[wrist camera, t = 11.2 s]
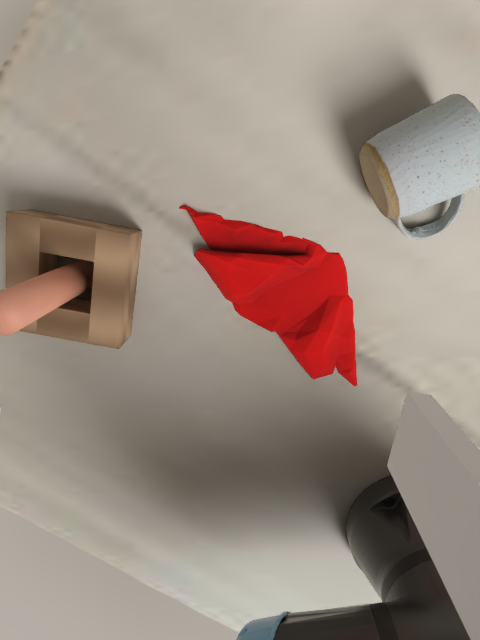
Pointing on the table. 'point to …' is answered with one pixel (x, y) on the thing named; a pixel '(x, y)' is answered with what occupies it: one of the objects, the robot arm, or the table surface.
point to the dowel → (42, 295)
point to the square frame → (87, 244)
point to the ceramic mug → (425, 163)
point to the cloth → (284, 289)
